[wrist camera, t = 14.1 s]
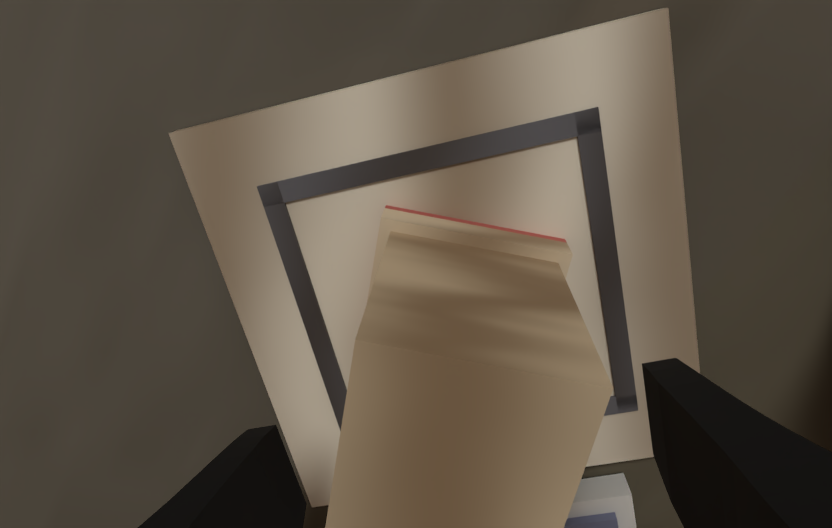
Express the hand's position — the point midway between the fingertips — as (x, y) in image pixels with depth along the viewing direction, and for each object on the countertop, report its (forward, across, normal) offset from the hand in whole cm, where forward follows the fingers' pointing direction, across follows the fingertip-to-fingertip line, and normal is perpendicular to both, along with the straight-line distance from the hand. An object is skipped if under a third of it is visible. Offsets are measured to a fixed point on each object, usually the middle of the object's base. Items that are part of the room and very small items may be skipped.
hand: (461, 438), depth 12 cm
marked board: (+7, 0, 0) cm, 7 cm away
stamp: (+6, 0, 0) cm, 6 cm away
